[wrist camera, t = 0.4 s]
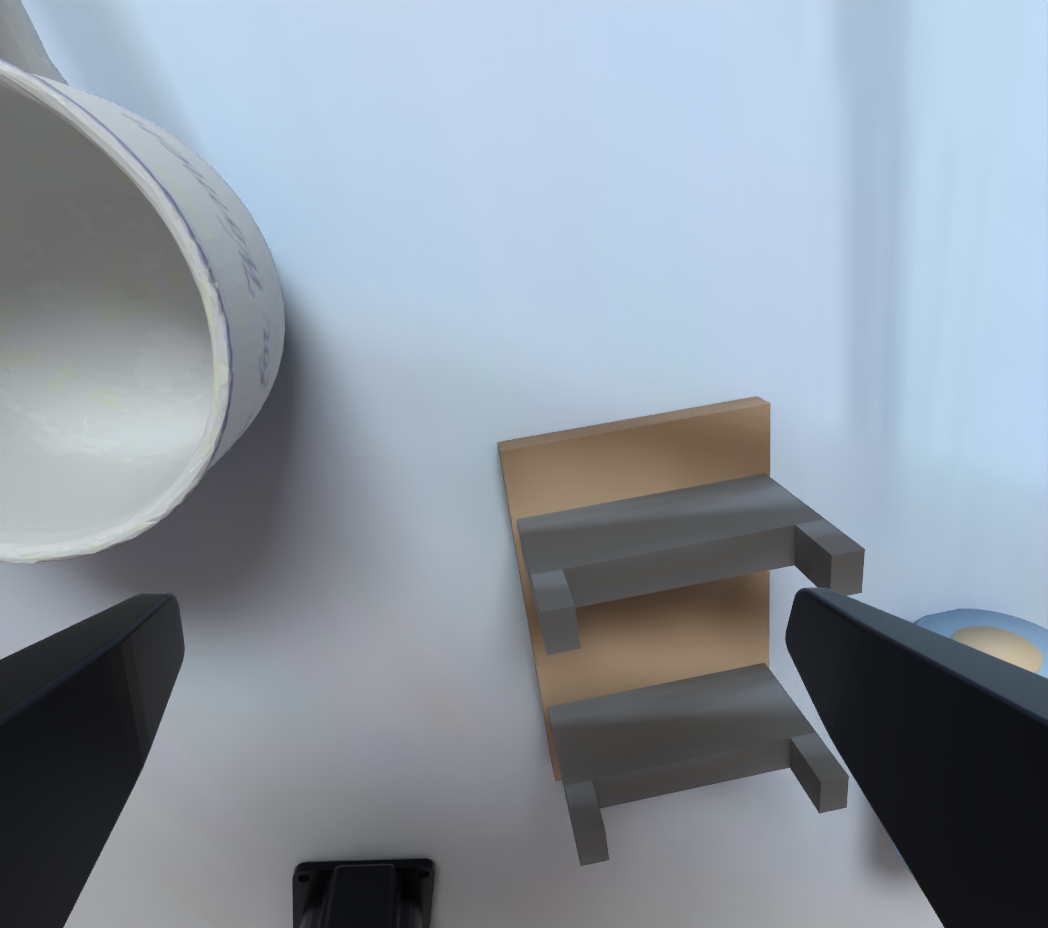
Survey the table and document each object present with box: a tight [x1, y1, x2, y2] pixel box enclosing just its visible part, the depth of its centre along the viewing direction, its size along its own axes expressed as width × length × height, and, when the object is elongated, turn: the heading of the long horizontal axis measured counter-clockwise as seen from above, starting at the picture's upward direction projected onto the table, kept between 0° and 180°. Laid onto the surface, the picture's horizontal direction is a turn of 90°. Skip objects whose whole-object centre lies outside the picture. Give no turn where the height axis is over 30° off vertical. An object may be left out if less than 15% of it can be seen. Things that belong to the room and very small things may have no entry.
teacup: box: [0, 0, 285, 564], centre depth 15 cm, size 14×11×8 cm
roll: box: [891, 609, 1048, 874], centre depth 28 cm, size 12×6×6 cm, turn 8°
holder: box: [498, 397, 865, 866], centre depth 23 cm, size 16×10×7 cm, turn 8°
